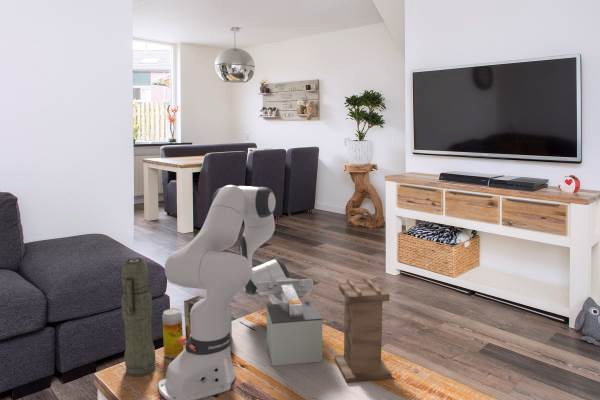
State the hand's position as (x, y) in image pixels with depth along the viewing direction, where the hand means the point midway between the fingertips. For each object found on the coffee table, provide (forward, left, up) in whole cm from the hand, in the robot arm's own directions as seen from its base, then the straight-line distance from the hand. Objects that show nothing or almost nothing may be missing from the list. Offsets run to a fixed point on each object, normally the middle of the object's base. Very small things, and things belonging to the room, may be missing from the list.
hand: (287, 282), depth 165 cm
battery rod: (-3, -5, -6) cm, 9 cm away
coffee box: (-27, +15, -21) cm, 37 cm away
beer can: (-37, +15, -21) cm, 45 cm away
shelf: (-6, -10, -21) cm, 24 cm away
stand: (+3, -32, -21) cm, 38 cm away
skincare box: (-18, +16, -21) cm, 32 cm away
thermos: (-49, +13, -21) cm, 54 cm away
